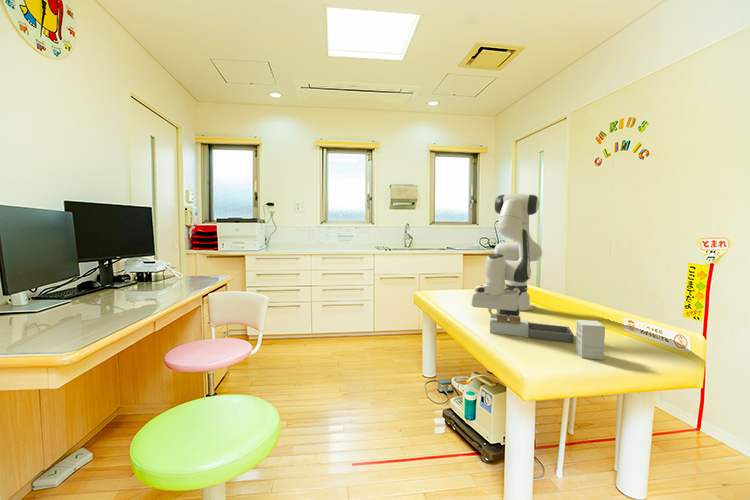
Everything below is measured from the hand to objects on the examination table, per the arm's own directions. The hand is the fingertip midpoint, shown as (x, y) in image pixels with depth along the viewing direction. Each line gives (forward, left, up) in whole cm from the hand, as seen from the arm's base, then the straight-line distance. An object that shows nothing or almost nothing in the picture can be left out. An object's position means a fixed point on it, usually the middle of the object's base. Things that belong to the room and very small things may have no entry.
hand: (493, 318), depth 153 cm
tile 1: (0, +4, -1) cm, 4 cm away
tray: (0, +23, -6) cm, 24 cm away
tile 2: (0, +9, -1) cm, 9 cm away
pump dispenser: (-19, +6, -6) cm, 21 cm away
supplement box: (+19, +34, -6) cm, 40 cm away
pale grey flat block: (0, +6, -6) cm, 9 cm away
